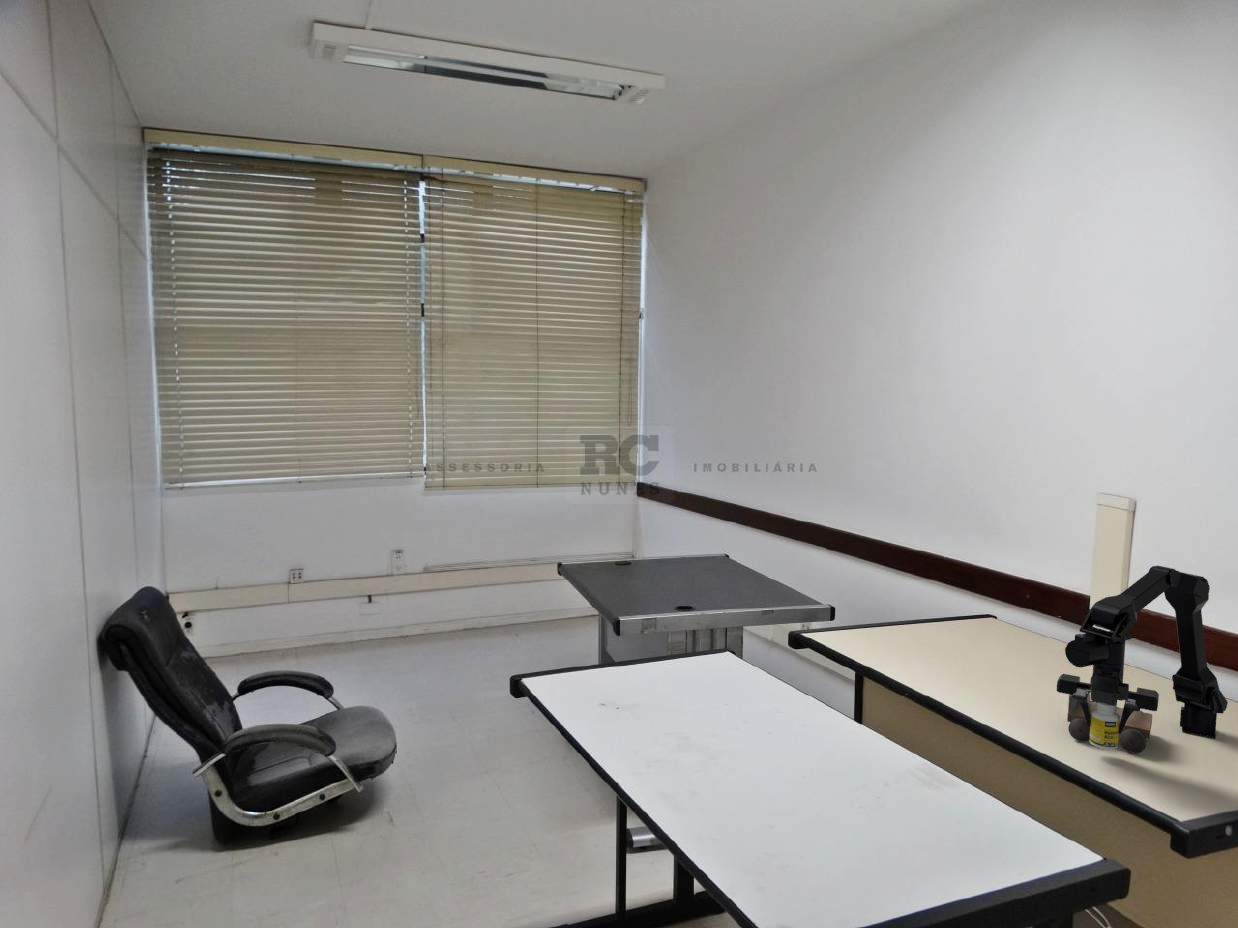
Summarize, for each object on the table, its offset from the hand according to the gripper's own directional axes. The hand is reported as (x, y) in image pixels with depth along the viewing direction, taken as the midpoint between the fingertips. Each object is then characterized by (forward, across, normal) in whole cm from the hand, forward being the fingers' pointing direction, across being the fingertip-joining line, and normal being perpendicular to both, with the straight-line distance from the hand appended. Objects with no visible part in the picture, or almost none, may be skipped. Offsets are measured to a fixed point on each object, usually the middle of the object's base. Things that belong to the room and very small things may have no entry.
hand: (1104, 729), depth 176 cm
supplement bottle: (+4, 0, 0) cm, 4 cm away
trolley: (+6, 0, +13) cm, 14 cm away
